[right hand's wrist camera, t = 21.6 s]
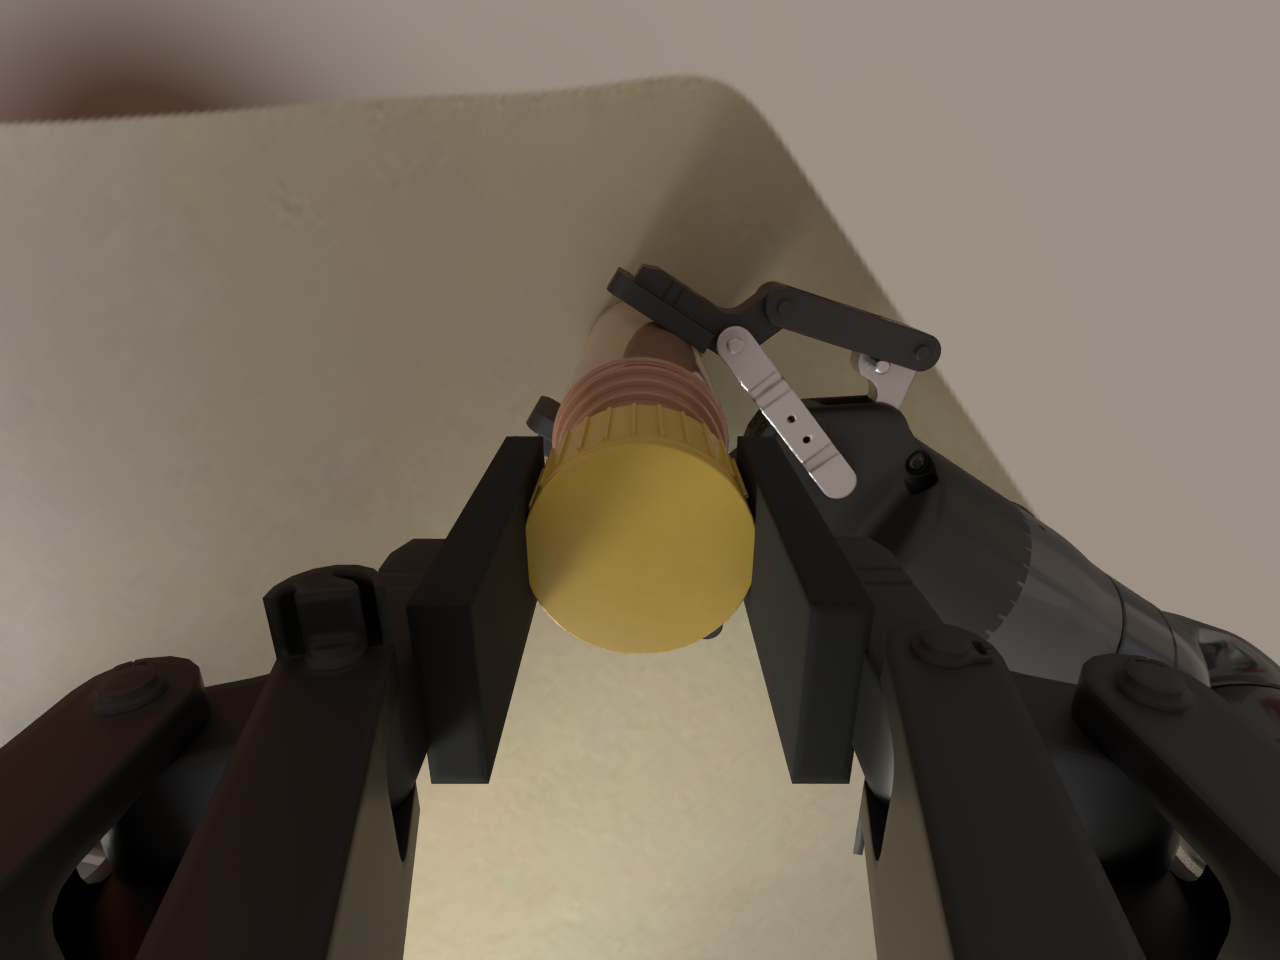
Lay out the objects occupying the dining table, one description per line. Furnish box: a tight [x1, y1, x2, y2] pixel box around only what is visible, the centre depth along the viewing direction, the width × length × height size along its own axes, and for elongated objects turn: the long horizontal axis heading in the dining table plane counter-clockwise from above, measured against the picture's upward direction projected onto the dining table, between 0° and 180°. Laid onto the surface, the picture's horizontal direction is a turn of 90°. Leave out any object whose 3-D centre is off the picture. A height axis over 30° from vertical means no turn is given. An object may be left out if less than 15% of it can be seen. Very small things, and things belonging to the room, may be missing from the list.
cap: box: [525, 403, 755, 654], centre depth 13 cm, size 4×4×2 cm
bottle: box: [552, 301, 729, 452], centre depth 21 cm, size 5×5×18 cm
